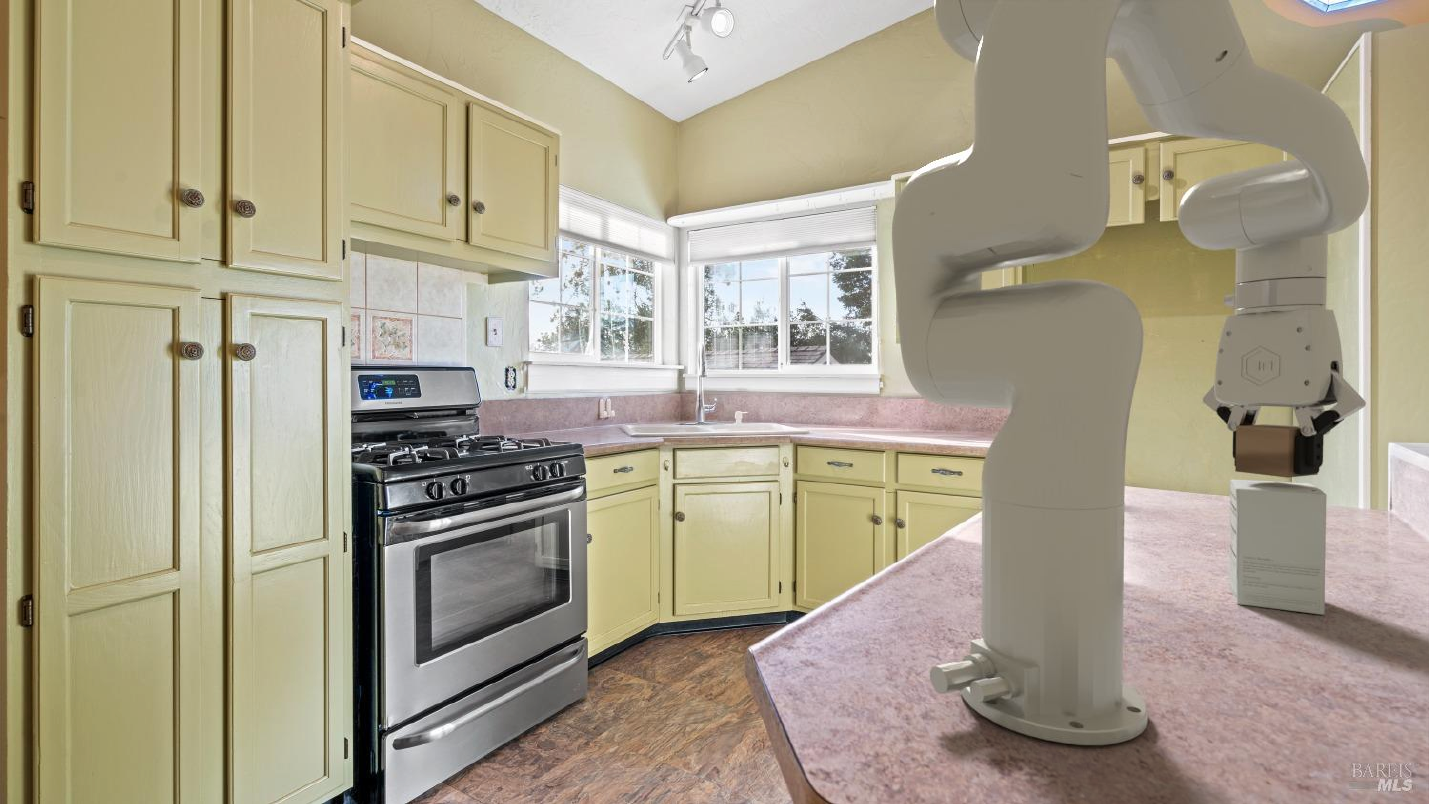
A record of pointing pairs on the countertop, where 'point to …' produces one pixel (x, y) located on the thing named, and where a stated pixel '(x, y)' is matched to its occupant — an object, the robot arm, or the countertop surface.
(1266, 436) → the walnut cube
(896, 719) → the countertop surface
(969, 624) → the countertop surface
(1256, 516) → the supplement box
